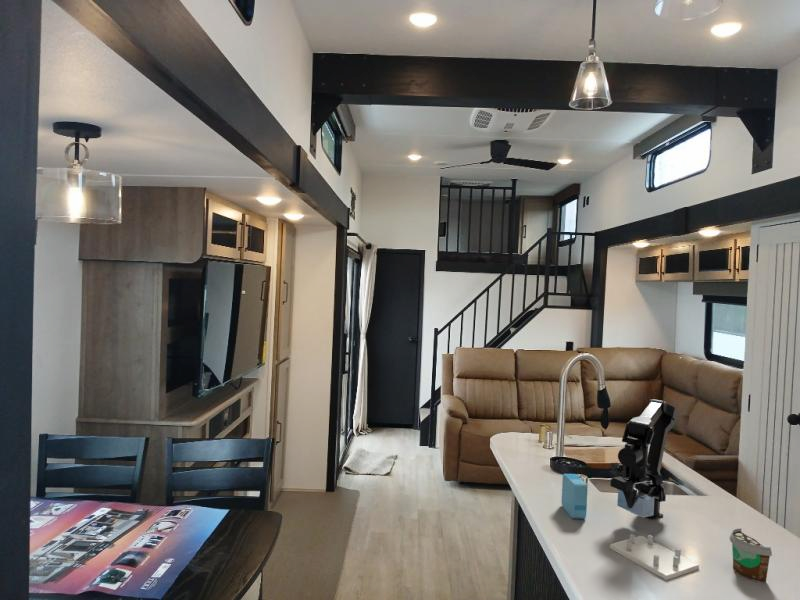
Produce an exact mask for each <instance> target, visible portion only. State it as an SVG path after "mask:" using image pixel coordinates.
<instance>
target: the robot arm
mask: <svg viewBox="0 0 800 600" xmlns="http://www.w3.org/2000/svg"><path fill="white" fill-rule="evenodd" d="M678 416H679V413H678V410H677V409H676V407H674V406H672V405H671V404H669V403H668V402H666V401H664V400H660V399H654V398H653V399H649V403H648V405H647V406H646V407H645V409H644V410H643V412H642V413H641V414H640V415H639V416H636V417H635V416H634V417H632V419H629V421H628V422H627V423H626V425H625V429H624V430H623V431H624V432H623V435H622V439H621V442H622V443H625V444H624V447H623V448H621V449H620V450H619V451H618V453H617V459H618V461H619V463H618V462H611V463H609V471H610V472H611V473H612V474H614V477H611V479H610V480H609V486H610V487H612V488H614V489H616V490H618V489H619V490H621V491H623V493H624V496H625V499H626V502H627V506H628V508H632V506H633V503H634V500H635V497H636V494H637V490H639V491H642V492H644V493H646V494H649V495H651V496H653V497H654V515H653V516H649V517H646V518H648V519H650V520H653V519H658V518H662V517H664V514H663V513H660V512H661V511H660V507H661V503H663V502H666V500H667V499H666V497H667V495H666V494H667V490H666V488H665V485H664V479H663V477H662V474H661V467H662V461H663V457H664V452H665V448H666V443H667V442H666V441H667V437H668V434H669V433H668V432H669V431H671V429H672V428H674V427H675V424H676V421H677V420H678ZM618 475H622V476H618ZM634 488H635V489H637V490H635V489H634Z"/></svg>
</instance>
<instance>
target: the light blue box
mask: <svg viewBox="0 0 800 600" xmlns="http://www.w3.org/2000/svg"><path fill="white" fill-rule="evenodd" d="M587 485H588V484H587V483H586V482H585V481H583V479H582V478H581V477H580V476H579V475H577V474H576V473H563V474H562V483H561V506H562V508H563V510H564V511H566V513H567V514H568V515H569V516H570V518H572V519H579V520H581V519H586V518H587V508H588V507H587V505H588V486H587Z"/></svg>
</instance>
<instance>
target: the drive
mask: <svg viewBox="0 0 800 600" xmlns="http://www.w3.org/2000/svg"><path fill="white" fill-rule="evenodd" d="M634 489H635V487H634ZM635 490H637V489H635ZM616 505H617V507H619V508H621V509H622V510H625V511H627V512H629V513H632V514H634V515H636V516H639V517H640V518H642V519H644V518H647V517H649V516H653V515H654V497H653V496H651V495H649V494H646V493H644V492H642V491H639V490H637V494H636V497H635V500H634V503H633V506H632V508H628V506H627V502H626V499H625V496H624V493H623V491H621V490H619V489H617V504H616Z"/></svg>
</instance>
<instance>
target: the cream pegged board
mask: <svg viewBox="0 0 800 600" xmlns="http://www.w3.org/2000/svg"><path fill="white" fill-rule="evenodd" d="M609 549H611V550H612V551H614V552H616V553H618V554H619V555H621V556H623V557H625V559H626V558H627V559H628V560H630V561H632V562H633V563H635V564H636V565H639V566H641V567H642V568H645V569H646V570H648V571H650V572H651V573H653V574H655V575H657V576H658V577H660V578H662V579H664V580H666V581H668V580H670V579H671V580H672V579H673V578H676V577H680V576H682V575H685V574H687V573H691V572H695V571H696V570H699V569H700V564H698V563H696V562H694V561H693V560H691V559H688V558H686V557H684V556H683V555H681V552H682V551H681V549H680V548H675V549H674V551H673V550H671V549H668V548H667V547H665V546H663V545H661V544H659V543H657V542H654V536H653V535H651V534H648V535H647V537H646V536H642V535H638V536H636V534H634V533H630V534H629V538H627V539H624V540H621V541H617V542H613V543H610V544H609Z"/></svg>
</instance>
